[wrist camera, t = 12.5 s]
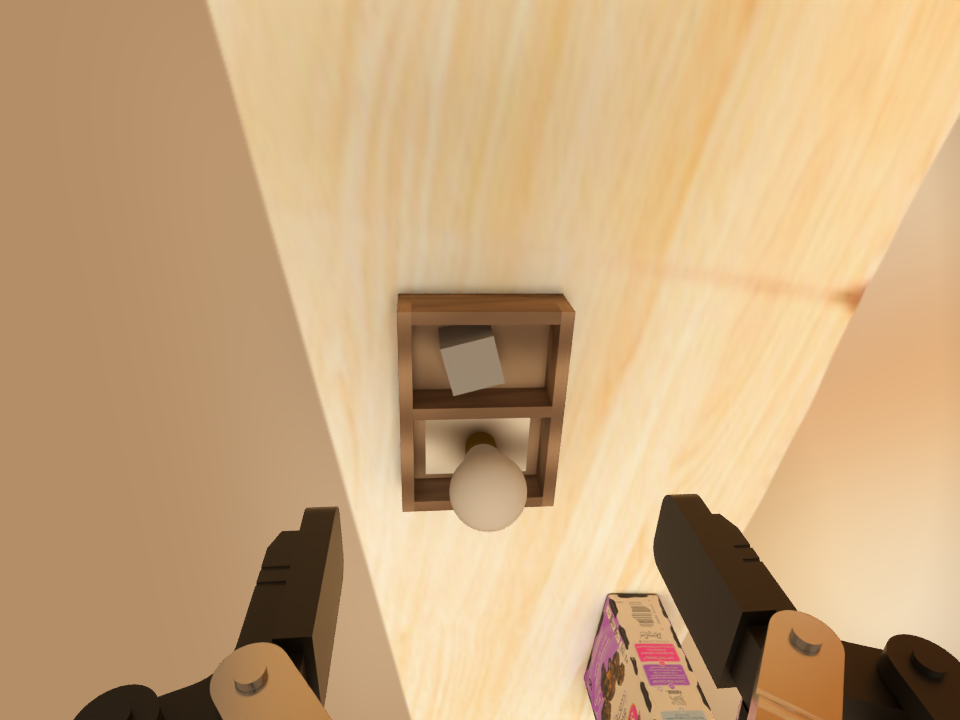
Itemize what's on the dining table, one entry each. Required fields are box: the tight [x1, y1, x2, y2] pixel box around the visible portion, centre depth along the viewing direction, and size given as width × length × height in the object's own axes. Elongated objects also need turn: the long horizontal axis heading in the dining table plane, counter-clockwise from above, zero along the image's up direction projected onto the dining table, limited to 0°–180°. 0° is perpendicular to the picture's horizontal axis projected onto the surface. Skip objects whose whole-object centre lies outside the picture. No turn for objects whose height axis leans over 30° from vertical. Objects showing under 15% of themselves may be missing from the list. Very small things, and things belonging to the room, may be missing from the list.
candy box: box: [584, 594, 715, 720], centre depth 57 cm, size 14×6×16 cm, turn 173°
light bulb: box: [449, 432, 527, 532], centre depth 46 cm, size 6×6×10 cm
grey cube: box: [438, 325, 505, 396], centre depth 44 cm, size 4×4×4 cm
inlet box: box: [397, 294, 575, 512], centre depth 47 cm, size 18×13×4 cm
